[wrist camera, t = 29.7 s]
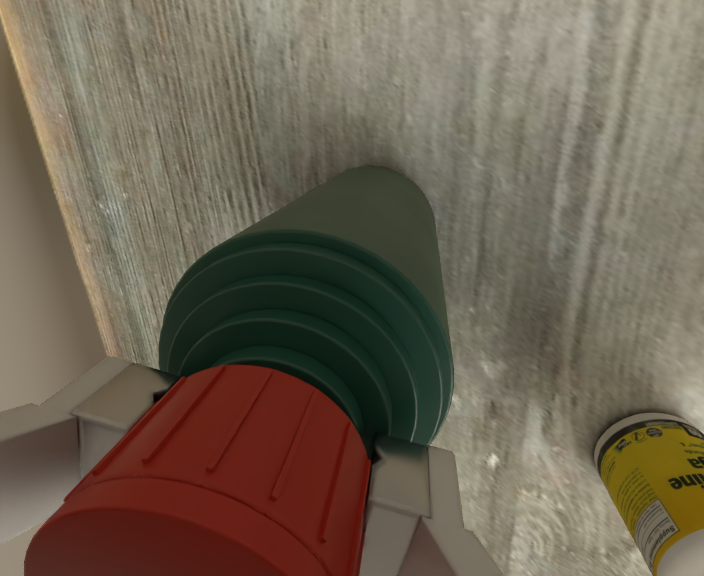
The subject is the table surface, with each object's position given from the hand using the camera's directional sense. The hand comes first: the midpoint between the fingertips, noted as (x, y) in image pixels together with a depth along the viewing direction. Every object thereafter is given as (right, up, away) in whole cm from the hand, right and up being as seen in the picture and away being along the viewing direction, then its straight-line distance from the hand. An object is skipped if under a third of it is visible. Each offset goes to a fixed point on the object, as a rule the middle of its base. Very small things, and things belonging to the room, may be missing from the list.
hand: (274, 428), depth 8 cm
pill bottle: (+20, -7, +17) cm, 27 cm away
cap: (0, -1, -3) cm, 3 cm away
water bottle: (+3, +6, +14) cm, 16 cm away
